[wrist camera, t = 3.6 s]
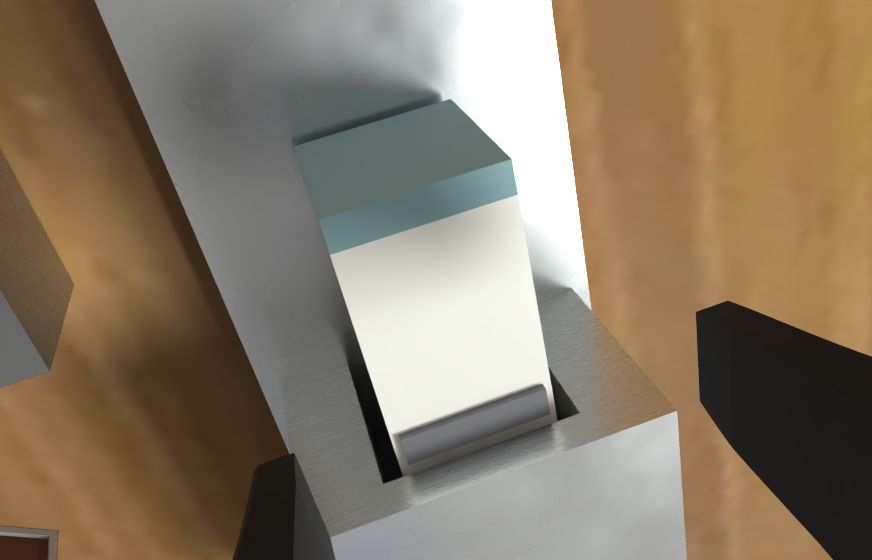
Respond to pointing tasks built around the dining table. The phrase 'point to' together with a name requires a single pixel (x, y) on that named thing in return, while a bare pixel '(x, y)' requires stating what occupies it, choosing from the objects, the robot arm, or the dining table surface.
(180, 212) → the dining table surface
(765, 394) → the robot arm
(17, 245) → the plunger collar
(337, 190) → the cartridge
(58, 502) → the dining table surface
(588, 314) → the housing
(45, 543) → the food container
